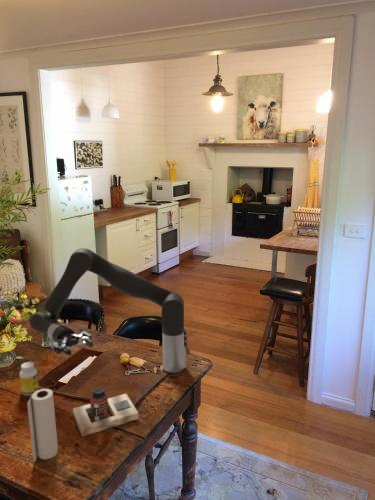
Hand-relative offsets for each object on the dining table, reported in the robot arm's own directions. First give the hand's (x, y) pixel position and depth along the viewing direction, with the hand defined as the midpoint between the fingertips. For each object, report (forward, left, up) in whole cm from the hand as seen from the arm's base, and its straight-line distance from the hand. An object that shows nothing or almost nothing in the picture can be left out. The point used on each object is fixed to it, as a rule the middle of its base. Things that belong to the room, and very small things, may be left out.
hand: (81, 348), depth 149 cm
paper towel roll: (+17, +20, -23) cm, 35 cm away
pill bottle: (+17, -18, -23) cm, 34 cm away
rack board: (-5, +11, -23) cm, 26 cm away
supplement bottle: (-3, +10, -23) cm, 26 cm away
